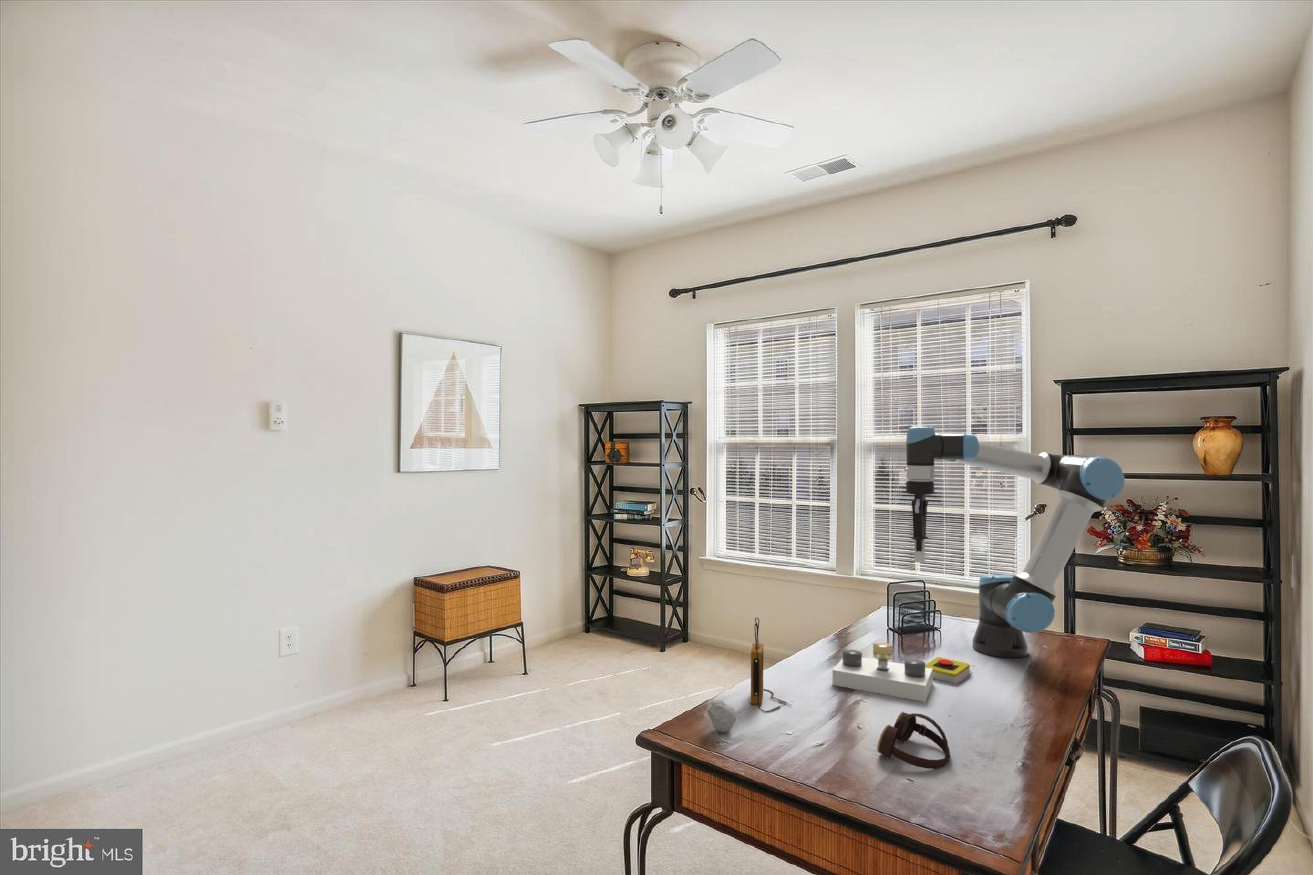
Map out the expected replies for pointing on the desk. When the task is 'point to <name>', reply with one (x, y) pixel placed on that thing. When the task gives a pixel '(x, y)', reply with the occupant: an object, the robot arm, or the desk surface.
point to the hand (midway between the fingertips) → (919, 561)
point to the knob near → (914, 668)
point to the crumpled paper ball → (721, 715)
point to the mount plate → (883, 679)
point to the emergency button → (948, 670)
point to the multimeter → (758, 673)
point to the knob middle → (883, 655)
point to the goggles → (903, 733)
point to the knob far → (852, 658)
